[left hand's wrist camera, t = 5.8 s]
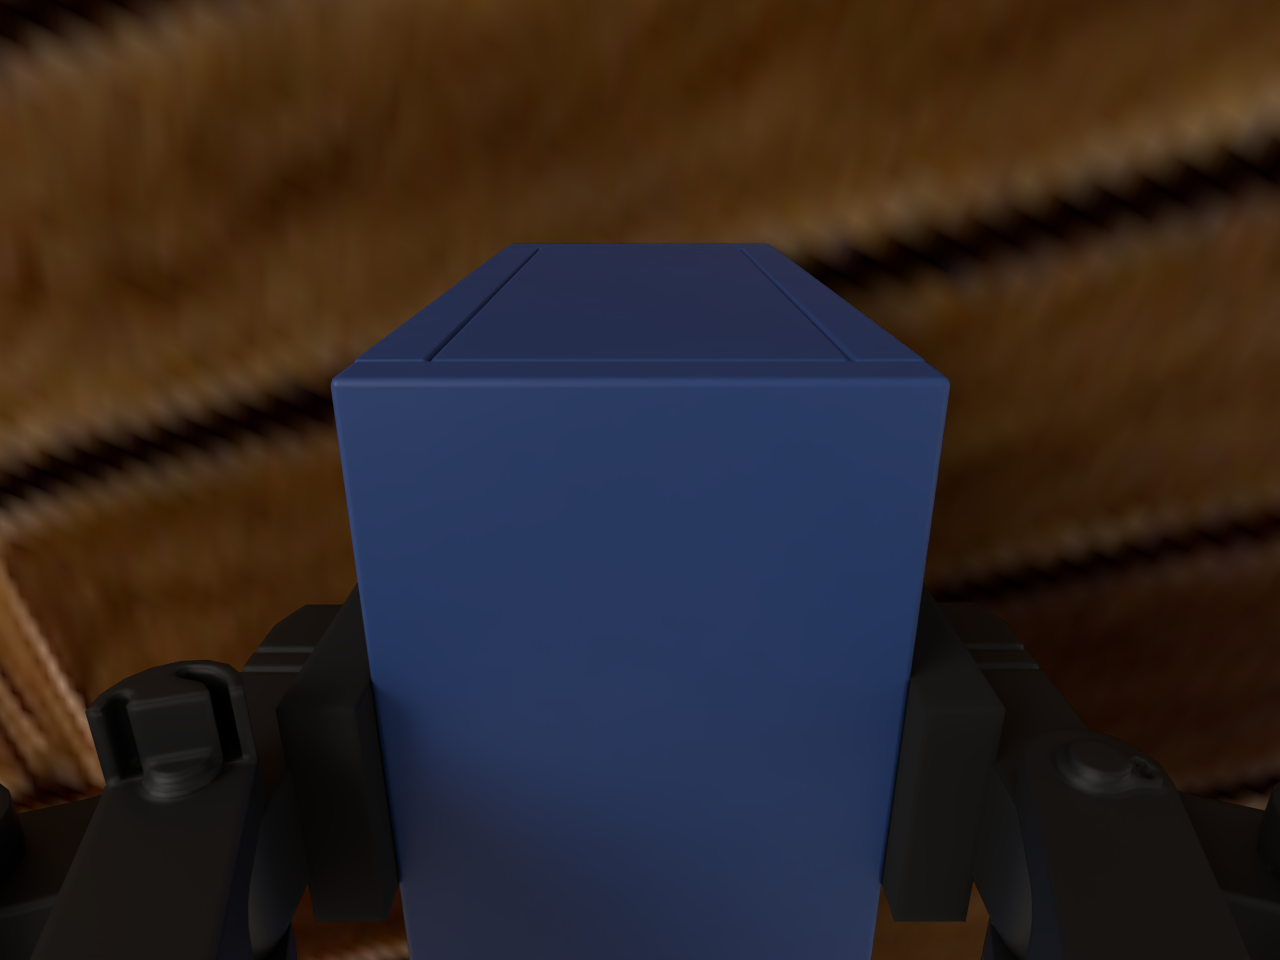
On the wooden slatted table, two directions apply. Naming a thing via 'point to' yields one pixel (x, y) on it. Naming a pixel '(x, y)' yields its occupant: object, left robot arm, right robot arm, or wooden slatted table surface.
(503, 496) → the cabinet
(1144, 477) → the wooden slatted table surface
